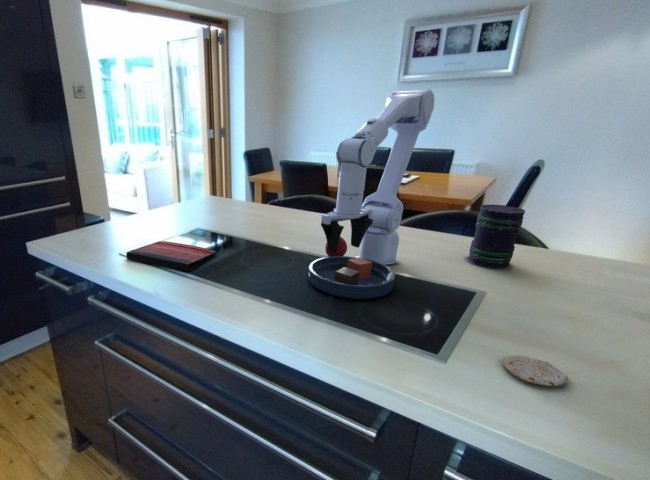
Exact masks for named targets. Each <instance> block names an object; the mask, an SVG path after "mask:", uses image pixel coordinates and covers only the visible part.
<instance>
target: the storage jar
mask: <svg viewBox="0 0 650 480" xmlns="http://www.w3.org/2000/svg"><path fill="white" fill-rule="evenodd" d="M525 213H526V210H525V209H523V208H520V207H516V206H511V205H503V204H502V205H501V204H482V205H480V208H479V213H478V215H477V219H476V223H475V232H474V236H473V239H472V240H471V242H470V246H469V250H468V251H469V252H468V256H467V261H468V263H471V264H472V265H475V266H477V267H482V268H485V269H492V270H493V269H495V270H503V269H504V270H505V269H508V268H509V267H510V262H511V260H512V258H513V256H514V253H515V243H516V240H517V236H518V234H519V233H520V231H521V227H522V225H523V222H524V215H525Z"/></svg>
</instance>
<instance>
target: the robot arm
mask: <svg viewBox="0 0 650 480" xmlns="http://www.w3.org/2000/svg"><path fill="white" fill-rule="evenodd" d="M434 109H435V94H434V92H433V90H432V89H426V90H424V89H423V90H422V89H421V90H404V91H403V90H402V91H401V90H400V91H398V90H394V91H392V92H390V94H389V95H388V96H387V98H386V101H385V106H384V109H382V111H381V112H380V113H379V114H378V116H377V117H376V118H375V117H373V118H368V119H367V121H366V122H365V123H364V124H363V125H362V126H361V128H359V129H358V130H357V132H355V133H354V134H353V136H352V137H346V138H345V139H343V140H342V141H340V143H339V144H338V147H337V151H336V152H335V158H336V161H337V172H338V173H339V175H338V176H339V177H338V187H337V195H336V205H335V208H333V211H329V212H327V213H324V214H323V213H322V215H321V220H320V226H321V228H322V230H323V233H324V235H325V239H326V243H327V244H328V251H331V252H333V253H335V252H337V249H338V243H339V238H340V237H341V235H342V232H343V230H344V229H345V226H344V225H340V223H339V222H345V221H349V222H350V227H351V229H350V230H351V234H350V245H351V246H352V247H354V248H359V249H360V250H359V255H356V256H354V257H359V258H360V257H361V258H364V259H369V260H373V261H376V262H379V263H381V264H384V265H386V266H387V265H392V264H397V263H399V261H398V260H397V254H398V250H399V249H398V248H399V244H400V243H399V242H400V235H399V234H398V232H397V231H396V230H398V228H399V227H400V225H401V222H402V219H403V218H402V217H403V212H404V208H405V207H404V204H403V202H402V201H401V200H400V199H399V197H398V192H399V190H400V188H401V184H402V182H403V179H404V176H405V173H406V170H407V167H408V166H409V162H410V159H411V157H412V153H413V151H414V149H415V145H416V143H417V141H418V138H419V134H420V133H421V132H423V131H425V130H426V129H427V127H428V124H429V122H430V119H431V117H432V114H433V112H434ZM390 128H391V129H392V130H393V131H395V132H396V137H395V139H394V143H393V145H392V148H391V151H390V153H389V156H388V159H387V162H386V164H385V168H384V171H383V173H382V175H381V178H380V180H379V181H380V182H379V184H378V187H377V190H376V191H375V192H373V193H371V194H370V195H368V196H366V197H365V198H364V192H365V185H366V177H367V176H366V175H367V169H368V167H369V165H371V164H372V161H373V160H374V156H375V155H376V152H377V150H378V149H377V148H378V147H379V146H380V145H381V144H382V143H383V141H384V140H386V138H388V134H389V129H390Z"/></svg>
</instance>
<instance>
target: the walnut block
mask: <svg viewBox="0 0 650 480" xmlns="http://www.w3.org/2000/svg"><path fill="white" fill-rule="evenodd" d="M359 274H360V272H359V271H356V270H353V269H349V268H346V267H344V268H342V269H339V270H337V271H335V279H334V282H338V283H343V284H350V285H358V282H359Z"/></svg>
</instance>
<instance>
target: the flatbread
mask: <svg viewBox="0 0 650 480" xmlns="http://www.w3.org/2000/svg"><path fill="white" fill-rule="evenodd" d="M502 363H503V366H504V367H505V369H506V370H507V371H508V372H509V373H511V374H512V375H514V376H515V377H517V378H518V379H520V380H522V381H524V382H527V383H530V384H535V385H540V386H546V387H558V386H562V385H564V384H566V383H567V382H568V380H569V377H568V375H565V373H564V372H562V371H561V370H560V369H559V368H557V367H556V366H555V365H553V364H552V363H550V362H549V361H546V360H541V359H538V358H535V357H530V356H524V355H509V356H505V357H504V358H503V359H502Z"/></svg>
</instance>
